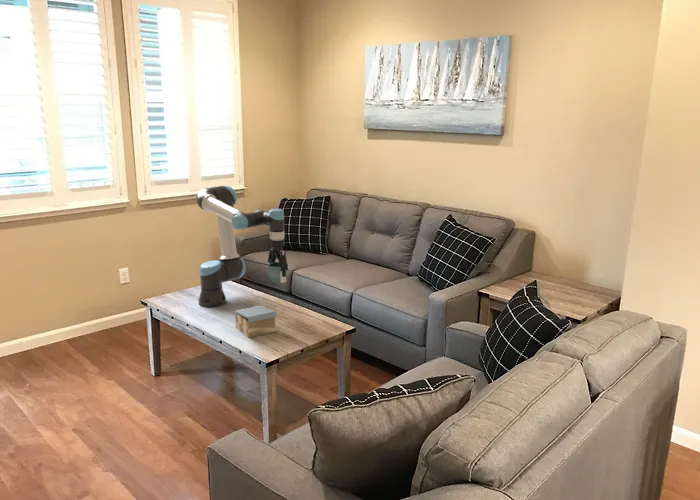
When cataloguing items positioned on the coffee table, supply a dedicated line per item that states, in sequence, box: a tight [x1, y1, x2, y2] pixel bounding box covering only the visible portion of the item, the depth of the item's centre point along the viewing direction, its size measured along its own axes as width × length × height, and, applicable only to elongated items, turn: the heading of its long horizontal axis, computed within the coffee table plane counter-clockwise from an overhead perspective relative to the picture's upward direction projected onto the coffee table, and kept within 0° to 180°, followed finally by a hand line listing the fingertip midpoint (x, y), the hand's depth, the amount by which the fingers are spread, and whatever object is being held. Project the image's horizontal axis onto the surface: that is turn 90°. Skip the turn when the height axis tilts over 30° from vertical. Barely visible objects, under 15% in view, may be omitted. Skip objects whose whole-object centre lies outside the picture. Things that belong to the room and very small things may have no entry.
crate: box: [234, 312, 276, 339], centre depth 279 cm, size 16×14×8 cm
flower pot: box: [266, 261, 289, 283], centre depth 294 cm, size 9×9×9 cm
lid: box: [234, 305, 277, 322], centre depth 278 cm, size 17×14×2 cm
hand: (278, 279), depth 295 cm, fingers closed on flower pot, 11 cm apart
